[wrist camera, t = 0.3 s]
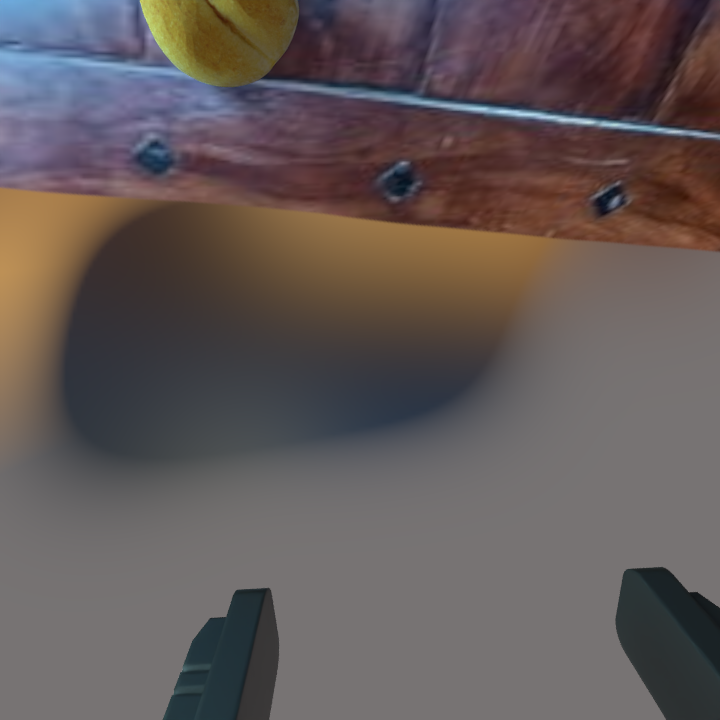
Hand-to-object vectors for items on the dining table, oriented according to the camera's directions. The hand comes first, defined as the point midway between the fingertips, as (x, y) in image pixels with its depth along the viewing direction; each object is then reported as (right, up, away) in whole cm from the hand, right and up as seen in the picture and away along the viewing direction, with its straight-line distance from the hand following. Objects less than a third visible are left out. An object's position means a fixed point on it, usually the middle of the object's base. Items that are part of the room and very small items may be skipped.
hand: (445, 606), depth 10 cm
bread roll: (-10, +28, +17) cm, 34 cm away
